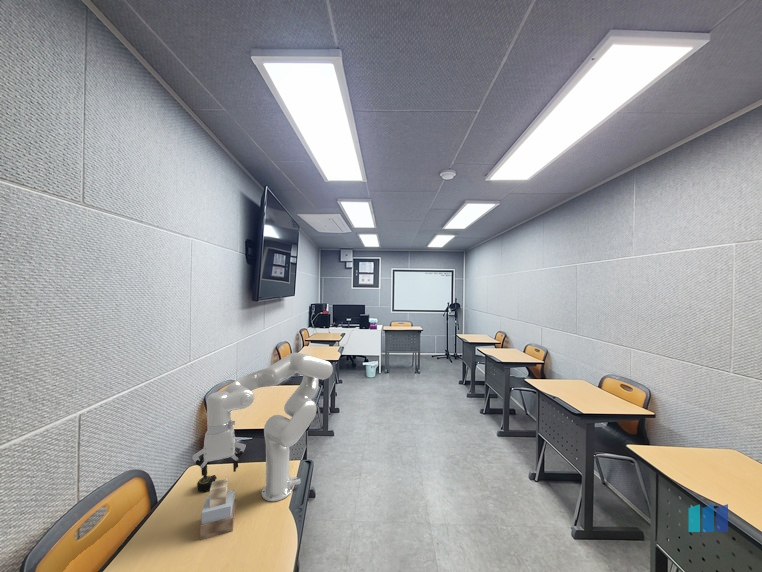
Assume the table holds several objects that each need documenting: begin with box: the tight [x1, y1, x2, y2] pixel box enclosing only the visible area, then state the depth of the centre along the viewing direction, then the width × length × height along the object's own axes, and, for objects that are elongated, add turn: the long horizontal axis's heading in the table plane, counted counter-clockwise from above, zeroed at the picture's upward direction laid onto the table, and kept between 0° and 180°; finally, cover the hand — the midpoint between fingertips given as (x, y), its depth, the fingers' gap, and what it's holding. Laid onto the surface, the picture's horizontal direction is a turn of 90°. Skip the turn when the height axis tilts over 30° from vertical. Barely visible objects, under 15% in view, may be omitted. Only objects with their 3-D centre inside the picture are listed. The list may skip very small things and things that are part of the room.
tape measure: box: [196, 474, 218, 493], centre depth 126 cm, size 7×7×4 cm
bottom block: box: [199, 498, 236, 541], centre depth 106 cm, size 10×10×5 cm
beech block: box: [209, 478, 228, 507], centre depth 106 cm, size 5×5×6 cm
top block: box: [201, 489, 235, 524], centre depth 106 cm, size 9×9×4 cm
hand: (220, 473), depth 107 cm, fingers open, 9 cm apart
